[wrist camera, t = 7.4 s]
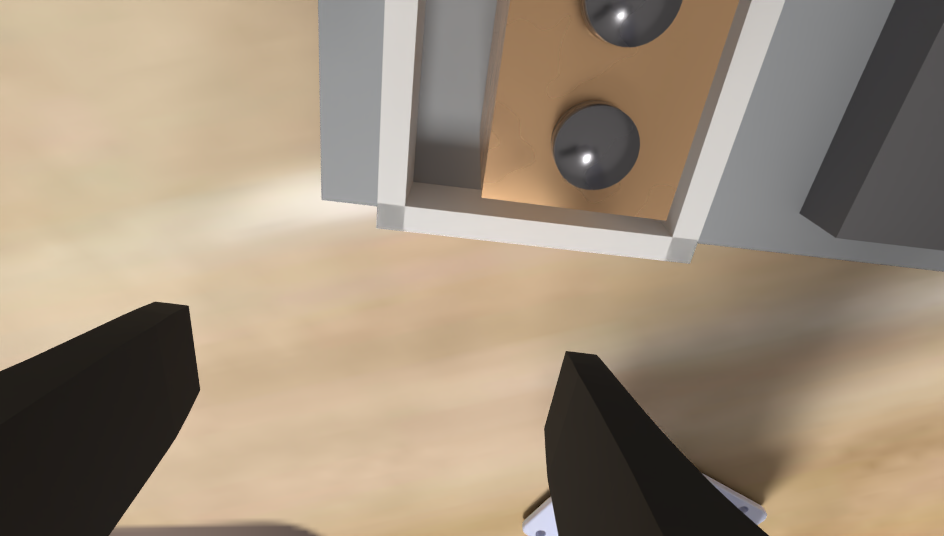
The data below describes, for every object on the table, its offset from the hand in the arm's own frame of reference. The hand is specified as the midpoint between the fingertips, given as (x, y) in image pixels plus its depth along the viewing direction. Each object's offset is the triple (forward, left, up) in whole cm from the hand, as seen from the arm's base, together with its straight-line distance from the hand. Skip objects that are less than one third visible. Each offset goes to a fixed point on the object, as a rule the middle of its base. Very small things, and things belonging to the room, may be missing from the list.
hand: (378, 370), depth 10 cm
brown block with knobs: (-1, -7, -8) cm, 11 cm away
